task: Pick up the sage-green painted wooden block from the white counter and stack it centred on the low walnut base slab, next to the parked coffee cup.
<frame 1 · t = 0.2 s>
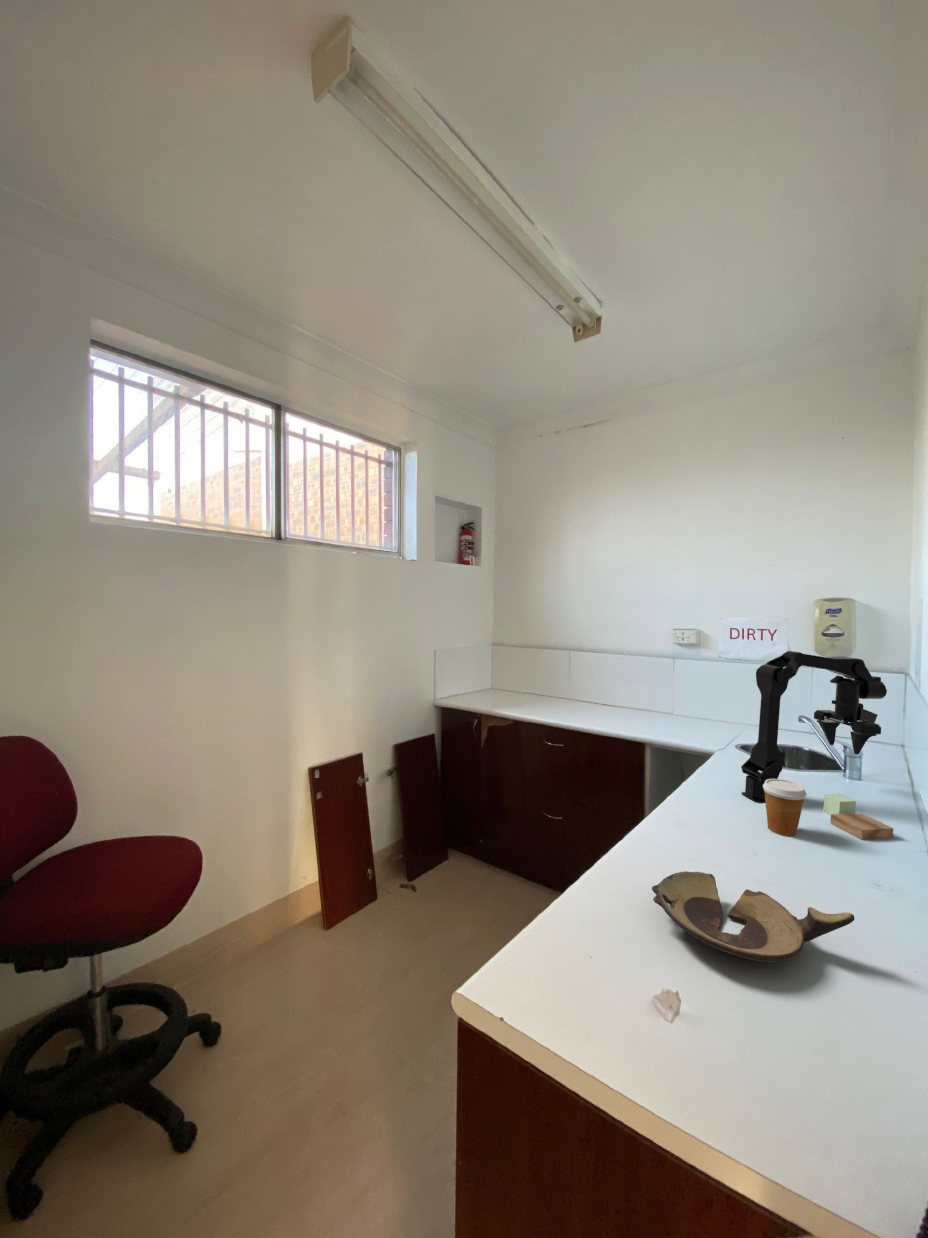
hand: (843, 749, 154), 14 cm above the worktop, fingers open, 9 cm apart
sage block: (838, 815, 141), on the worktop
disposable coffee cup: (781, 831, 130), on the worktop
walnut base: (860, 830, 131), on the worktop
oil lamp: (742, 942, 88), on the worktop
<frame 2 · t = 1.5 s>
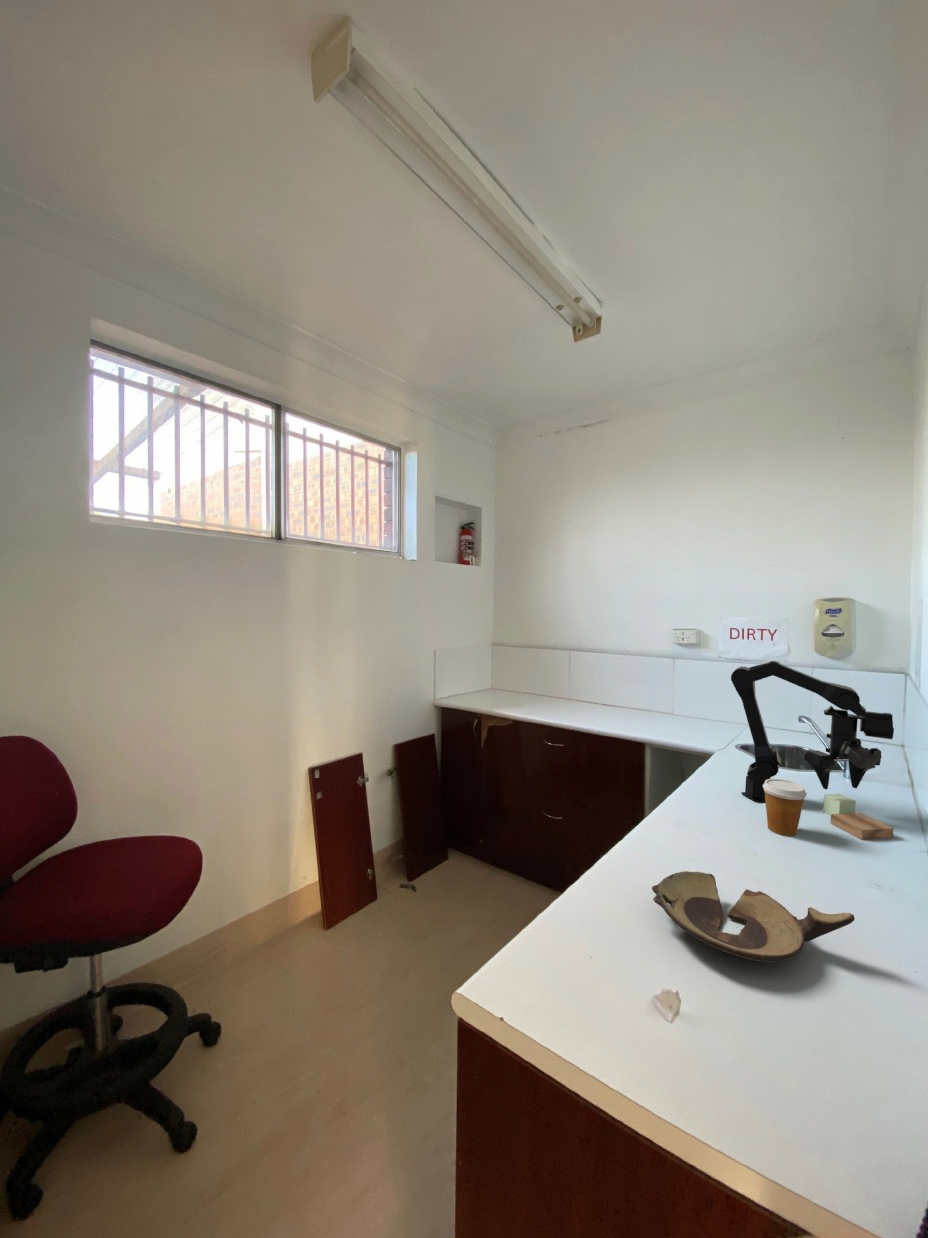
hand: (839, 788, 140), 7 cm above the worktop, fingers open, 9 cm apart
nothing on the worktop moved.
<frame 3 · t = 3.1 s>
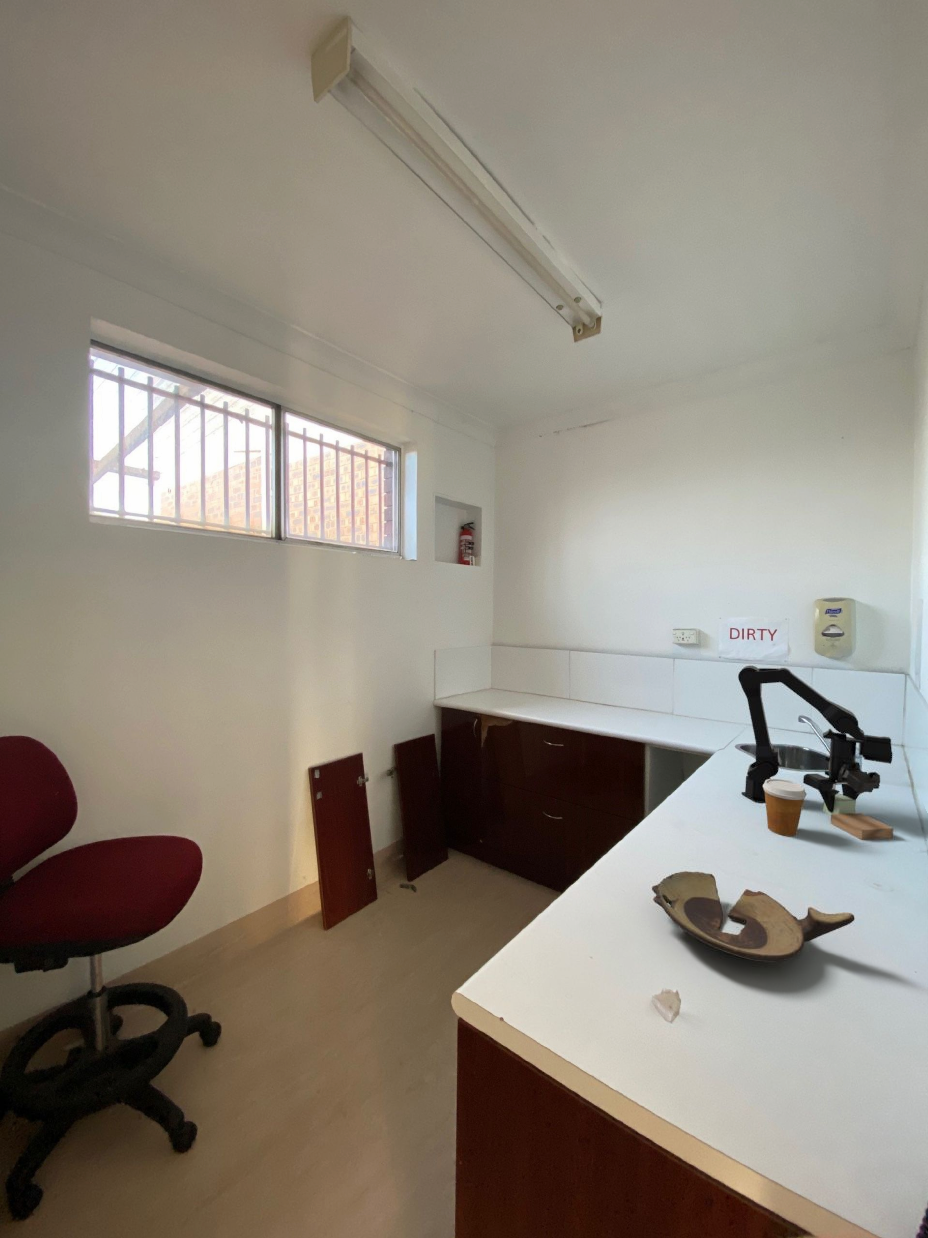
hand: (839, 811, 140), 1 cm above the worktop, fingers closed on sage block, 5 cm apart
sage block: (838, 815, 140), on the worktop, touching gripper
everything else where it was.
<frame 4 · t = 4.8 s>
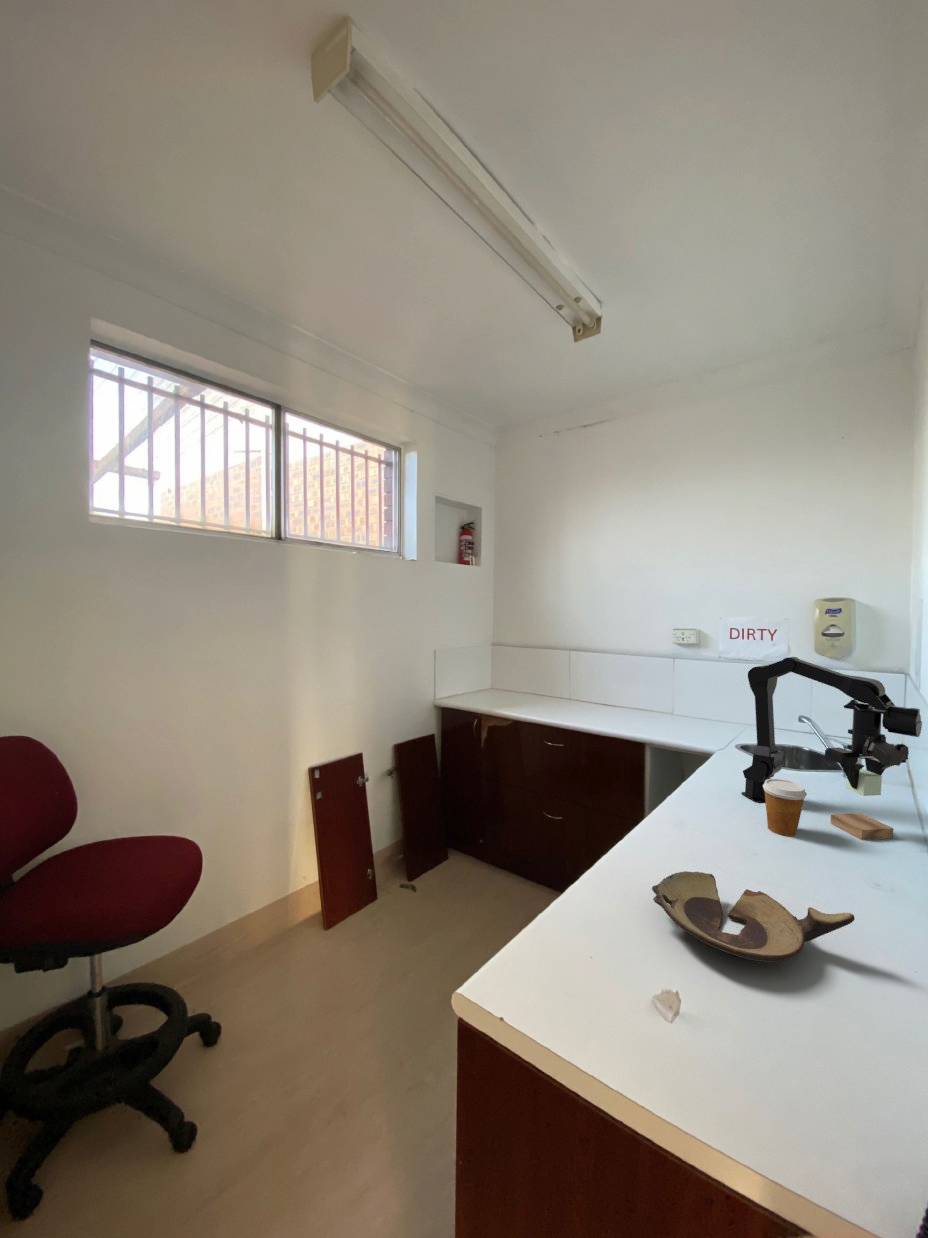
hand: (863, 787, 131), 11 cm above the worktop, fingers closed on sage block, 5 cm apart
sage block: (863, 791, 131), point 10 cm above the worktop, touching gripper
everything else where it was.
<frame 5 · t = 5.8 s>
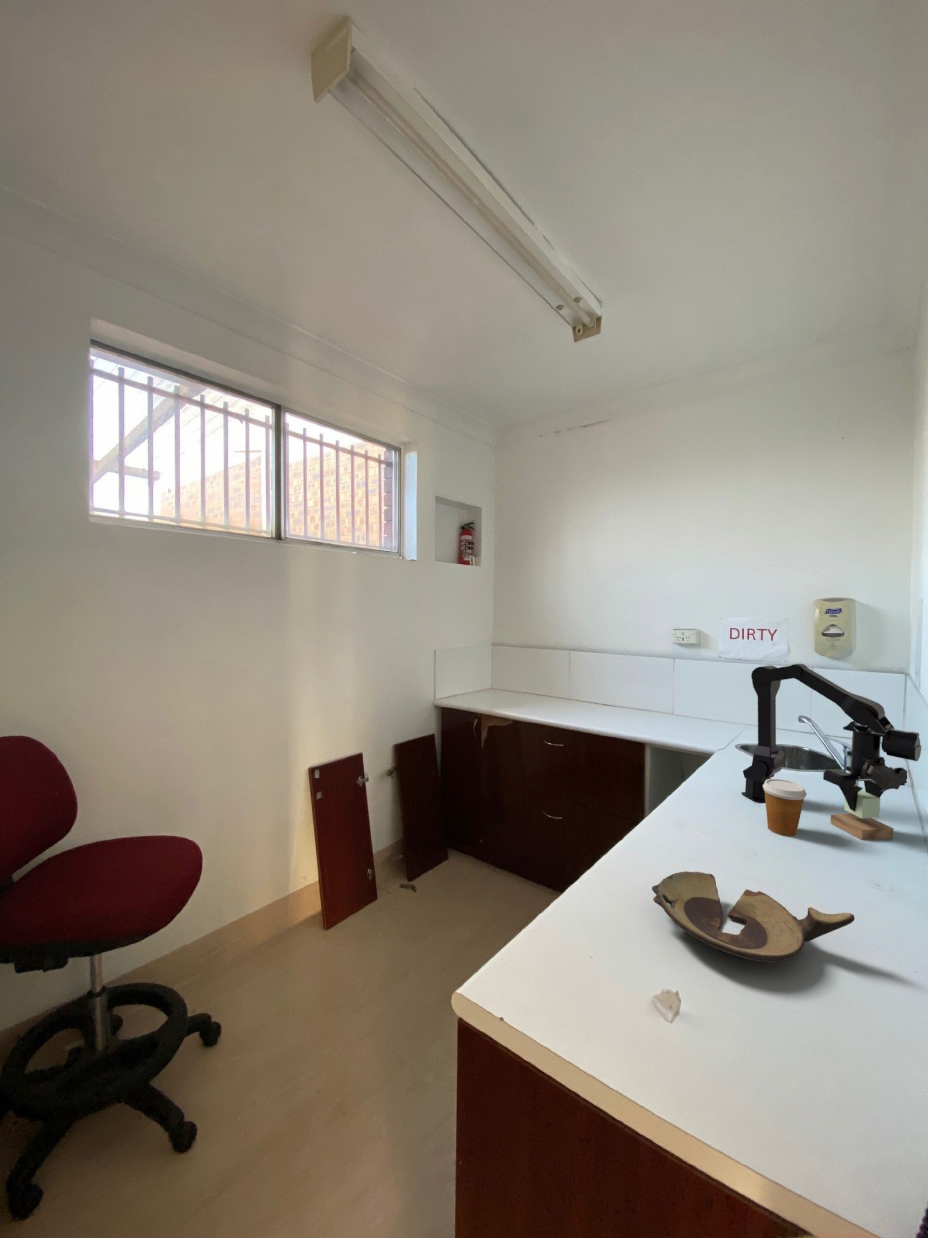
hand: (861, 809, 131), 5 cm above the worktop, fingers closed on sage block, 5 cm apart
sage block: (861, 813, 131), point 4 cm above the worktop, touching gripper
everything else where it was.
when the fingers open (5 cm above the worktop, at t = 6.7 s): sage block drops 1 cm, resting on walnut base.
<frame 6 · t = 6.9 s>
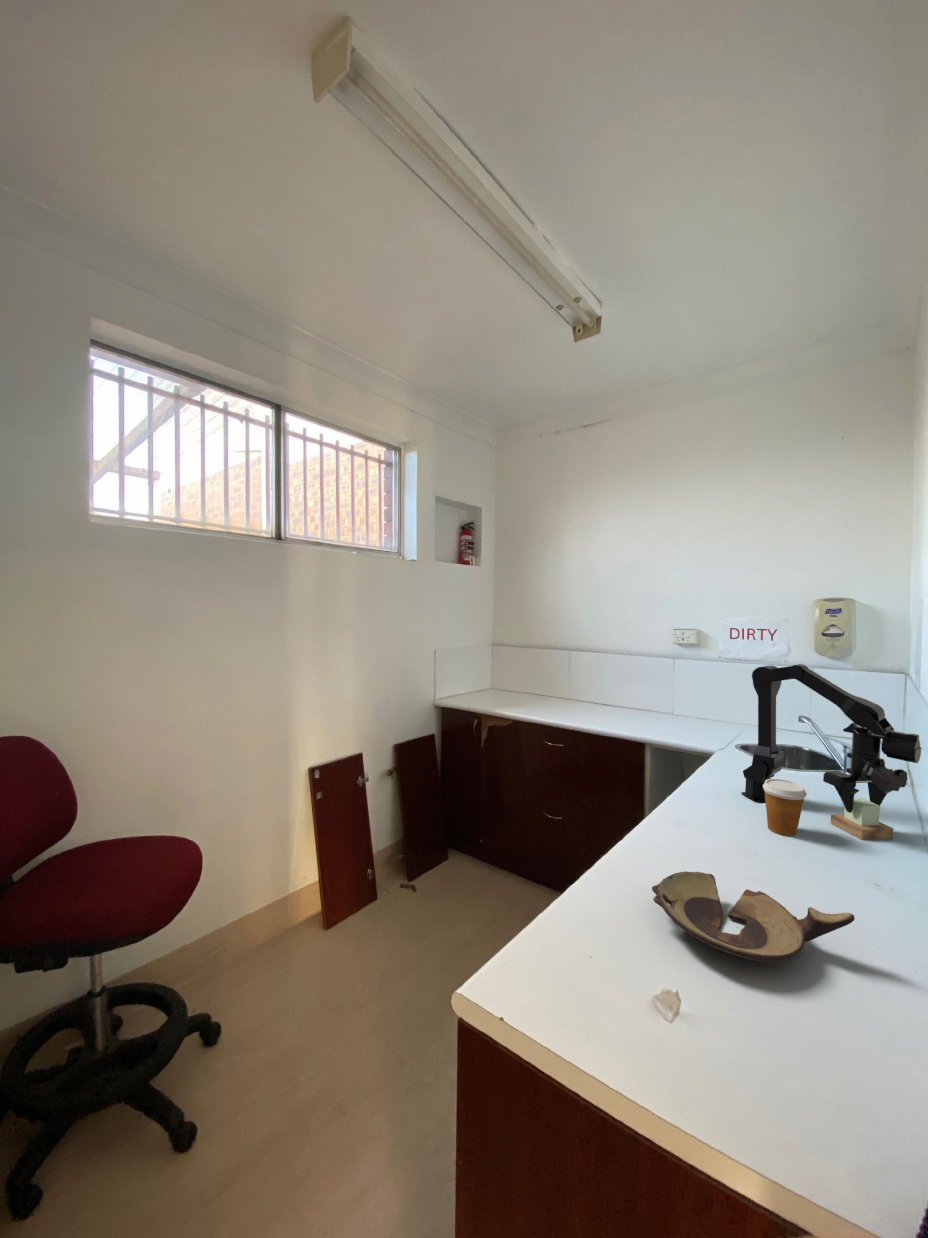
hand: (861, 811, 131), 5 cm above the worktop, fingers open, 7 cm apart
sage block: (861, 821, 131), point 2 cm above the worktop, touching walnut base
everything else where it was.
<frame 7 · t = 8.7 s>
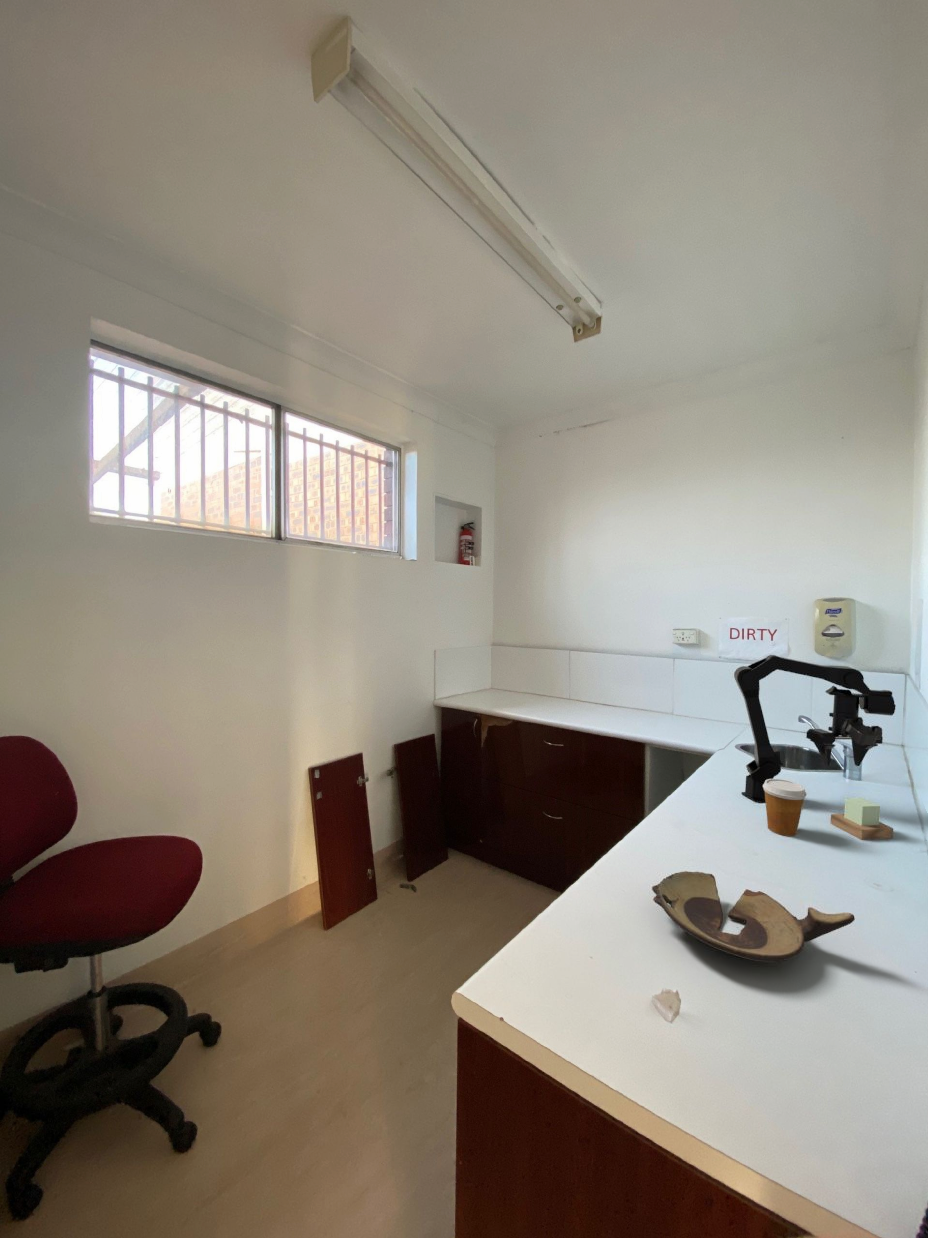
hand: (842, 766, 143), 13 cm above the worktop, fingers open, 9 cm apart
nothing on the worktop moved.
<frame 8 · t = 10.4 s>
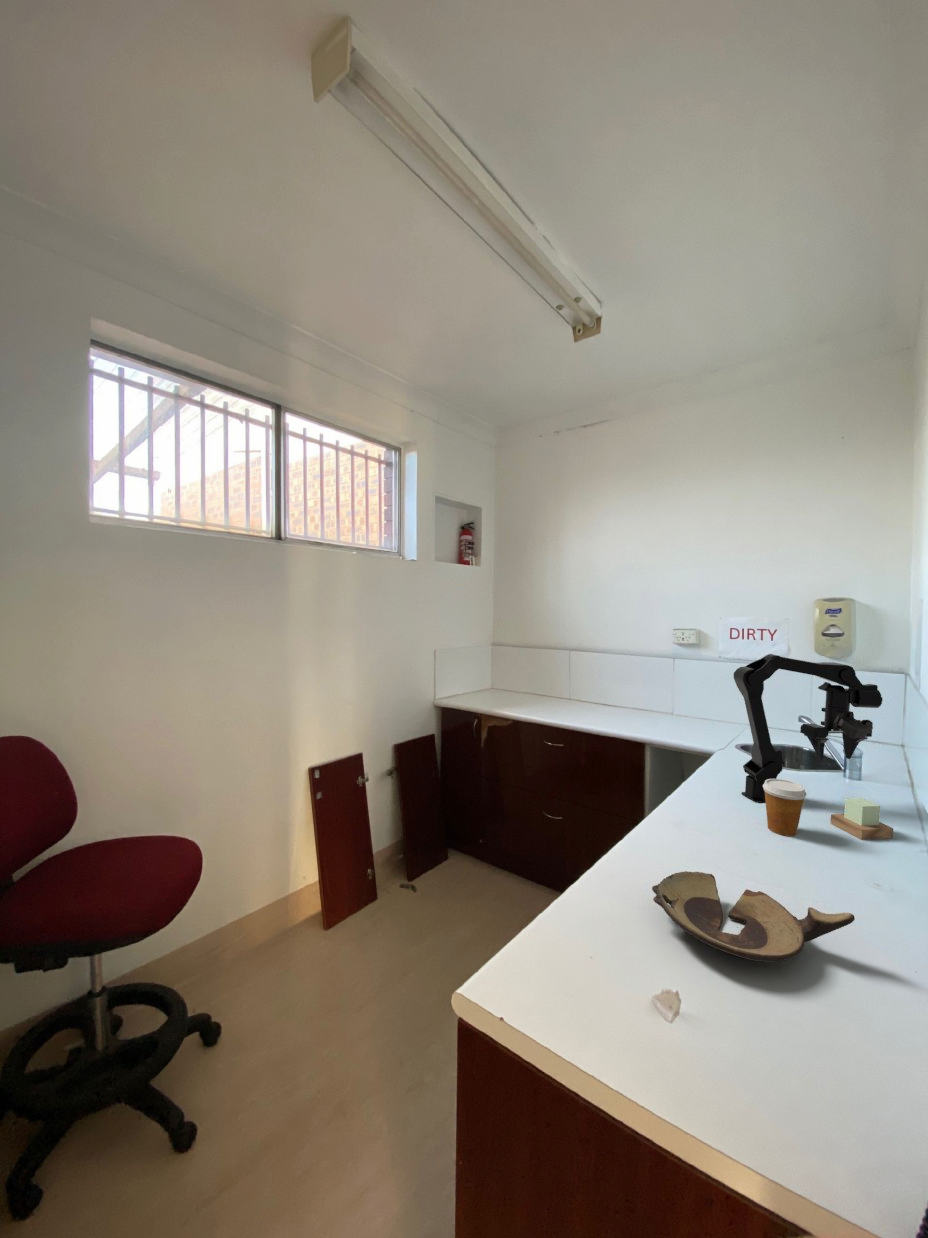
hand: (834, 759, 149), 13 cm above the worktop, fingers open, 9 cm apart
nothing on the worktop moved.
at the end: sage block 0.0 cm off-centre on the walnut base, point 2.5 cm above the walnut base's base; sage block tilted 0°; the gripper is holding nothing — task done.
